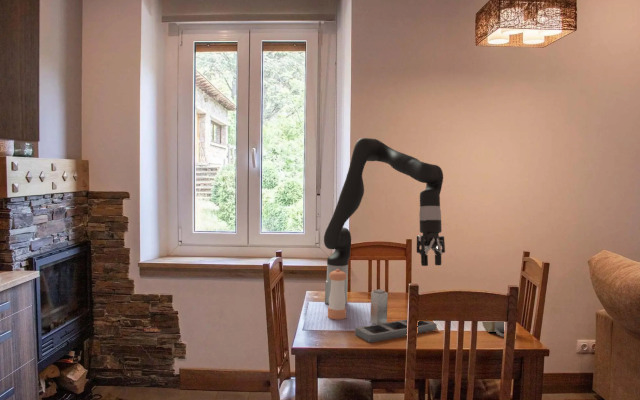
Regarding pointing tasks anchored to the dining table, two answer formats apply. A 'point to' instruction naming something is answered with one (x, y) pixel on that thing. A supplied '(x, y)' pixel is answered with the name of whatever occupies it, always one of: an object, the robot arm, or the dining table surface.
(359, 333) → the grey compartment tray
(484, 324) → the ceramic mug
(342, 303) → the pepper mill
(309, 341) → the dining table surface
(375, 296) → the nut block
